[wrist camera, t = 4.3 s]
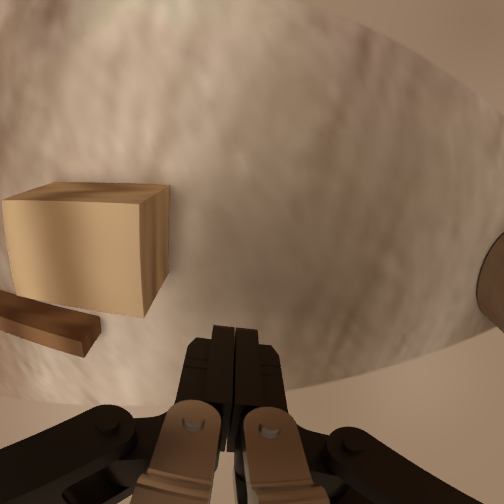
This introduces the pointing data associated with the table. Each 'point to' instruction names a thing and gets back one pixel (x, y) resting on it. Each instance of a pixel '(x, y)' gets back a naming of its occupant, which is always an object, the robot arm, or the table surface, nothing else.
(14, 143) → the table surface
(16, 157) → the table surface
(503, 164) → the table surface
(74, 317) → the corner fence
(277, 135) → the table surface
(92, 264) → the oak block
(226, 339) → the robot arm
